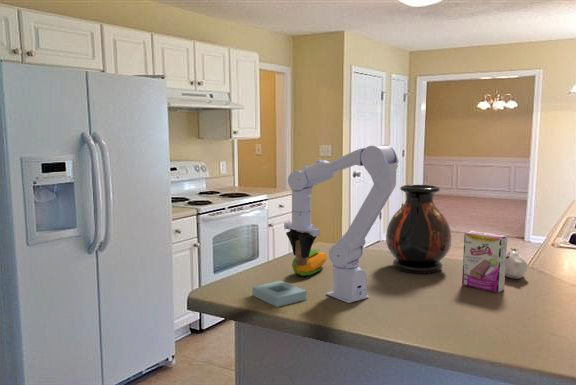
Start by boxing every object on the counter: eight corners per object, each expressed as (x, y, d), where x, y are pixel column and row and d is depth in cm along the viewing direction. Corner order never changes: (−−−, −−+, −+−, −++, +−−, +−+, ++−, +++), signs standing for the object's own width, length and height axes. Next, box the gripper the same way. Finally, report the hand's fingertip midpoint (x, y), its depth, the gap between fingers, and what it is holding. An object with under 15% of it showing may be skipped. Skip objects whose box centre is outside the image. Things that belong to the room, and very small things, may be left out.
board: (306, 299, 140) (306, 290, 140) (277, 307, 134) (277, 297, 134) (280, 288, 150) (280, 280, 150) (252, 295, 144) (252, 286, 144)
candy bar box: (461, 285, 153) (463, 232, 151) (468, 282, 157) (470, 230, 155) (498, 293, 146) (501, 237, 144) (505, 290, 149) (508, 235, 147)
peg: (309, 264, 151) (309, 241, 150) (300, 266, 149) (300, 242, 148) (302, 262, 153) (302, 239, 152) (293, 263, 151) (293, 240, 150)
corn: (286, 254, 160) (316, 242, 178) (285, 277, 162) (314, 263, 179) (307, 258, 157) (335, 246, 174) (305, 282, 158) (333, 267, 175)
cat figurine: (507, 242, 170) (515, 247, 155) (529, 256, 168) (539, 262, 153) (490, 265, 171) (496, 272, 156) (512, 279, 169) (520, 288, 155)
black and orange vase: (394, 257, 187) (396, 182, 184) (454, 264, 178) (458, 185, 175) (377, 271, 168) (379, 188, 165) (444, 280, 159) (448, 191, 155)
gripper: (327, 212, 146) (327, 259, 147) (297, 206, 157) (296, 249, 159) (308, 215, 141) (308, 262, 143) (278, 208, 153) (278, 252, 155)
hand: (301, 256), depth 151 cm, fingers closed on peg, 3 cm apart
